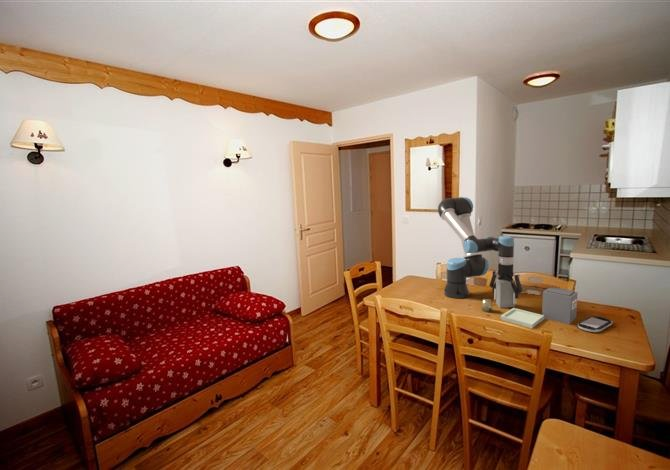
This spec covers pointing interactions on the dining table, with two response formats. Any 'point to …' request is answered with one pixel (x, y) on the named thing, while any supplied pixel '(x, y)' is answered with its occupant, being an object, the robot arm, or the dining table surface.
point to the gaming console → (594, 324)
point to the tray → (522, 317)
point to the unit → (559, 305)
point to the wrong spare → (486, 305)
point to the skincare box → (504, 293)
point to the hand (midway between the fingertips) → (505, 301)
